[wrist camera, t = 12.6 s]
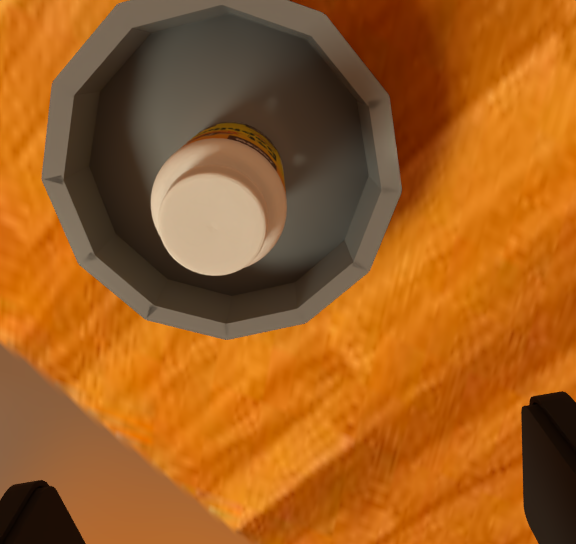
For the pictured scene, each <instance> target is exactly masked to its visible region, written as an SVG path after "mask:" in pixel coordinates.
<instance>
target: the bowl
mask: <svg viewBox="0 0 576 544" xmlns="http://www.w3.org/2000/svg"><path fill="white" fill-rule="evenodd" d="M118 4H119V5H118ZM118 4H117V5H116V6H115V8H114V9H113V10H112V11H111V12H110V14H109V15H108V16H107V17H106V18H105V20H104V21H103V22H102V23H101V24H100V26H99V27H98V28H97V29H96V30H95V32H94V33H93V34H92V35H91V36H90V38H89V39H88V40H87V41H86V42H85V44H84V45H83V46H82V47H81V48H80V50H79V51H78V52H77V53H76V54H75V56H74V57H73V58H72V59H71V60H70V62H69V63H68V64H67V65H66V66H65V68H64V69H63V70H62V71H61V72H60V74H59V75H58V76H57V77H56V78H55V80H54V81H53V83H52V89H51V98H50V107H49V116H48V125H47V134H46V143H45V152H44V161H43V171H42V181H43V184H44V186H45V188H46V191H47V193H48V195H49V197H50V200H51V202H52V204H53V207H54V209H55V211H56V214H57V216H58V218H59V220H60V223H61V225H62V227H63V230H64V232H65V234H66V236H67V239H68V241H69V243H70V246H71V248H72V250H73V253H74V255H75V257H76V259H77V262H78V264H79V263H80V264H79V265H80V266H81V267H83V268H84V269H85V270H86V271H87V272H89V273H90V274H91V275H92V276H94V277H95V278H96V279H97V280H98V281H100V282H101V283H102V284H103V285H104V286H106V287H107V288H108V289H109V290H110V291H112V292H113V293H114V294H115V295H117V296H118V297H119V298H120V299H121V300H123V301H124V302H125V303H126V304H127V305H129V306H130V307H131V308H132V309H133V310H135V311H136V312H137V313H138V314H139V315H141V316H142V317H143V318H144V319H147V320H148V321H153V322H157V323H161V324H165V325H169V326H173V327H177V328H181V329H185V330H189V331H193V332H197V333H201V334H205V335H209V336H213V337H217V338H221V339H225V340H226V339H227V340H229V339H234V338H238V337H243V336H248V335H253V334H257V333H262V332H267V331H272V330H276V329H281V328H286V327H291V326H295V325H300V324H305V322H306V323H307V322H308V321H309V320H310V319H312V318H313V317H314V316H315V315H317V314H318V313H319V312H320V311H321V310H323V309H324V308H325V307H326V306H328V305H329V304H330V303H331V302H333V301H334V300H335V299H336V298H337V297H339V296H340V295H341V294H342V293H344V292H345V291H346V290H347V289H349V288H350V287H351V286H352V285H353V284H355V283H356V282H357V281H358V280H360V279H361V278H362V277H363V276H365V275H366V274H367V273H368V272H369V271H370V269H371V266H372V264H373V261H374V259H375V256H376V254H377V251H378V249H379V247H380V244H381V242H382V239H383V237H384V234H385V232H386V229H387V227H388V224H389V222H390V220H391V217H392V215H393V212H394V210H395V207H396V205H397V202H398V200H399V197H400V195H401V193H402V191H401V190H402V186H401V178H400V171H399V163H398V156H397V148H396V141H395V133H394V126H393V118H392V111H391V103H390V96H389V95H388V93H387V92H386V91H385V89H384V88H383V87H382V86H381V84H380V83H379V82H378V81H377V79H376V78H375V77H374V75H373V74H372V73H371V72H370V70H369V69H368V68H367V67H366V65H365V64H364V63H363V62H362V60H361V59H360V58H359V56H358V55H357V54H356V53H355V51H354V50H353V49H352V48H351V46H350V45H349V44H348V42H347V41H346V40H345V39H344V37H343V36H342V35H341V34H340V32H339V31H338V30H337V29H336V27H335V26H334V25H333V23H332V22H331V21H330V20H329V18H328V17H327V16H326V15H325V14H324V13H322V12H320V11H317V10H314V9H311V8H308V7H306V6H303V5H300V4H297V3H294V2H292V1H289V0H130V1H126V2H122V3H118ZM323 14H324V15H323ZM223 122H239V123H243V124H247V125H250V126H252V127H254V128H256V129H258V130H259V131H261V132H262V133H264V134H265V135H266V136H267V137H268V138H269V139H270V140H271V141H272V143H273V144H274V146H275V147H276V149H277V151H278V153H279V155H280V158H281V161H282V165H283V172H284V181H285V190H286V201H287V213H286V221H285V225H284V228H283V231H282V233H281V235H280V237H279V239H278V241H277V243H276V244H275V246H274V247H273V248H272V249H271V250H270V251H269V252H268V253H267V254H266V255H265V256H264V257H263V258H262V259H260V260H259V261H257V262H255V263H254V264H252V265H250V266H247V267H245V268H242V269H241V270H239V271H236V272H234V273H231V274H227V275H220V276H211V275H204V274H200V273H196V272H193V271H191V270H189V269H187V268H185V267H184V266H182V265H181V264H180V263H178V262H177V261H176V260H175V259H174V258H173V257H172V256H171V255H170V254H169V252H168V251H167V249H166V248H165V246H164V244H163V242H162V240H161V237H160V235H159V234H158V231H157V229H156V227H155V224H154V222H153V218H152V212H151V193H152V188H153V184H154V181H155V179H156V176H157V174H158V172H159V171H160V169H161V167H162V166H163V165H164V163H165V162H166V161H167V160H168V159H169V158H170V157H171V156H172V155H173V154H174V153H175V152H176V151H177V150H179V149H180V148H181V147H182V146H183V145H185V144H186V143H187V142H188V141H189V140H191V139H192V138H193V137H194V136H196V135H197V134H198V133H199V132H201V131H202V130H204V129H206V128H208V127H210V126H212V125H215V124H218V123H223Z"/></svg>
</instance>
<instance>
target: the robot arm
mask: <svg viewBox="0 0 576 544" xmlns="http://www.w3.org/2000/svg"><path fill="white" fill-rule="evenodd" d="M521 414H522V456H523V497H524V511H525V515H526V518H527V521H528V524H529V526H530V528H531V530H532V532H533V534H534V535H535V537H536V539H537V541H538V543H539V544H576V403H575V401H574V400H573V399H572V398H571V397H570V396H569V395H568V394H567V393H566V392H563V391H562V392H556V393H550V394H544V395H538V396H533V397H531V399H530V404H529V405H528V406H523V407H522V412H521ZM0 544H85V542H84V540H83V538H82V536H81V534H80V532H79V531H78V529H77V527H76V525H75V523H74V521H73V520H72V518H71V516H70V514H69V512H68V511H67V509H66V507H65V505H64V503H63V501H62V499H61V498H60V496H59V494H58V492H57V490H56V489H55V488H54V487H52V486H49V485H48V484H47V482H45V481H43V480H40V481H34V482H27V483H21V484H15V485H13V486H11V487H10V488H9V489H8V490H7V491H6V492H5V494H4V496H3V497H2V498H1V500H0Z"/></svg>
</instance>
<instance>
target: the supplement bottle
mask: <svg viewBox="0 0 576 544" xmlns="http://www.w3.org/2000/svg"><path fill="white" fill-rule="evenodd" d="M151 212H152V218H153V222H154V224H155V227H156V229H157V231H158V234H159V235H160V237H161V240H162V242H163V244H164V246H165V248H166V249H167V251H168V252H169V254H170V255H171V256H172V257H173V258H174V259H175V260H176V261H177V262H178V263H180V264H181V265H182V266H184V267H185V268H187V269H189V270H191V271H193V272H196V273H200V274H204V275H211V276H220V275H227V274H231V273H234V272H236V271H239V270H241V269H242V268H245V267H247V266H250V265H252V264H254V263H255V262H257V261H259V260H260V259H262V258H263V257H264V256H265V255H266V254H267V253H268V252H269V251H270V250H271V249H272V248H273V247H274V246H275V244H276V243H277V241H278V239H279V237H280V235H281V233H282V231H283V228H284V225H285V221H286V213H287V201H286V190H285V181H284V172H283V165H282V161H281V158H280V155H279V153H278V151H277V149H276V147H275V146H274V144H273V143H272V141H271V140H270V139H269V138H268V137H267V136H266V135H265V134H264V133H262V132H261V131H259V130H258V129H256V128H254V127H252V126H250V125H247V124H243V123H239V122H223V123H218V124H215V125H212V126H210V127H208V128H206V129H204V130H202V131H201V132H199V133H198V134H197V135H196V136H194V137H193V138H192V139H191V140H189V141H188V142H187V143H186V144H185V145H183V146H182V147H181V148H180V149H179V150H177V151H176V152H175V153H174V154H173V155H172V156H171V157H170V158H169V159H168V160H167V161H166V162H165V163H164V165H163V166H162V167H161V169H160V171H159V172H158V174H157V176H156V179H155V181H154V184H153V188H152V193H151Z"/></svg>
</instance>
